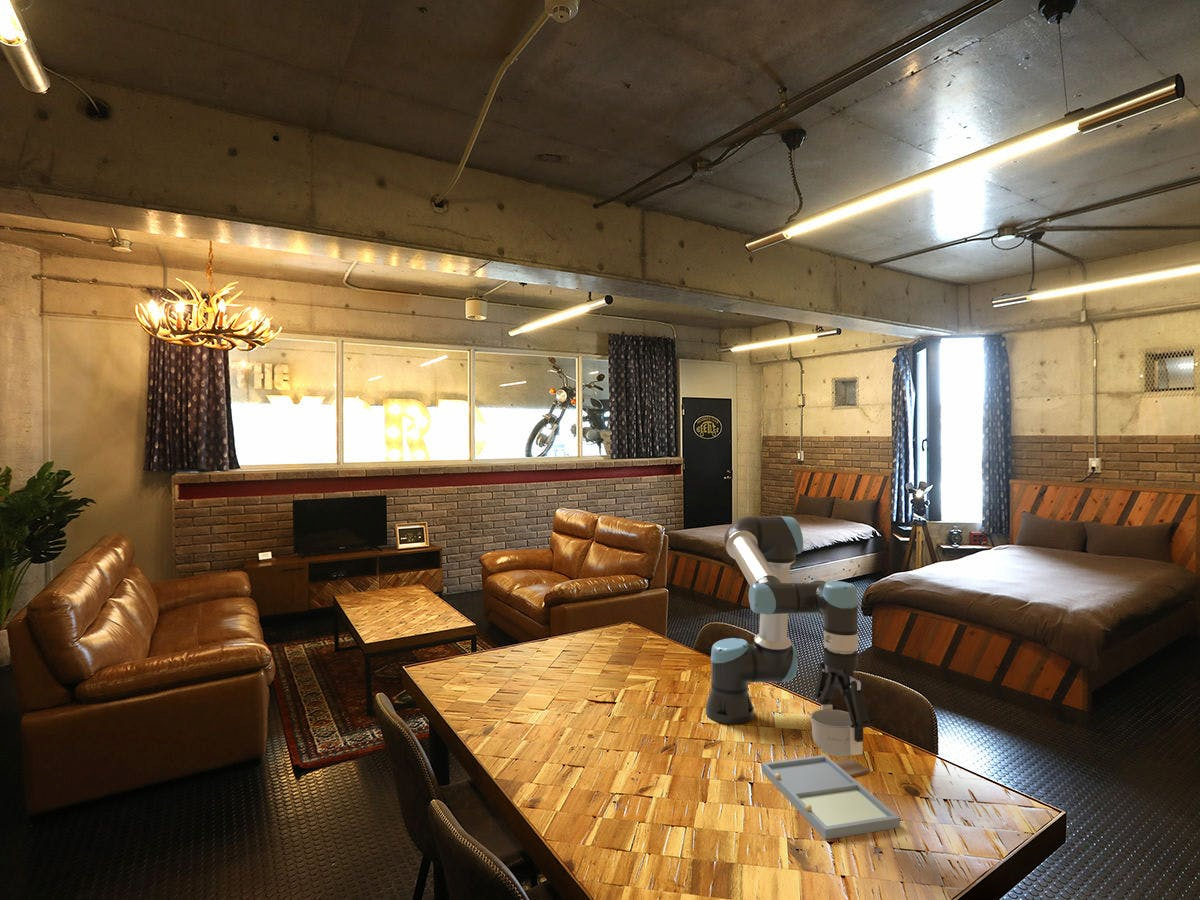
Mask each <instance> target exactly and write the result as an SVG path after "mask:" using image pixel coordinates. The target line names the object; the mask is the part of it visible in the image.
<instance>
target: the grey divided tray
mask: <svg viewBox="0 0 1200 900" xmlns="http://www.w3.org/2000/svg"><path fill="white" fill-rule="evenodd" d="M833 761H834V760H833V759H831V758H830V757H829V756H827V754H822V755H820V754H819V755H815V756H806V757H799V758H791V759H785V760H784V759H783V760H774V761H767V762H761V772H762V773H763V775H764V776H765V777H767V779H768V780H769V781H770V782H772V783H771V784H773V785H774V786H775V788H777V789H778V791H780V793H781V794H782V795H783V796H784V798H786V799H787V800H788V801H789V802H790V803H791V804H792V806H793V807H794V808H795V809H796V810H797V811H798V812H799V814H801V815H802V817H803V818H804V819H805V820H806V821H808V823H809V824H810V825H811V826H812V827H813V828H814V830H816V832H817V833H818V834H819V835H820V836H821V837H822V838H823V839H824V840H831V839H837V838H844V837H851V836H855V835H862V834H867V833H874V832H881V831H887V830H892V829H893V830H894V829H898V828H901V817H900V816H899V815H897V814H896V813H895V812H894V811H893V810H892V809H890V808H889V807H888V806H887V805H885V803H883V802H882V801H880V799H878V798H877V796H875V795H874V794H872V792H870V791H869V790H868V789H867V788H865V786H863V785H862V784H861V783H860V782H858V780H856V779H855V778H854V777H851V776H850V775H849V774H848V773H846V772H845V771H844V770H843V769H842V768H841V767H839V766H838V765H837V764H836V763H835V762H833Z"/></svg>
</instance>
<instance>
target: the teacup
mask: <svg viewBox="0 0 1200 900" xmlns="http://www.w3.org/2000/svg"><path fill="white" fill-rule="evenodd" d="M810 719H811V730H812V731H811V732H812V734H811V735H812V739H813V742H814V744H815V745H816V746H817V747H818V748H819V749H820V750H821V751H822V752H824V753H825V755H830V756H832V757H841V758H843V757H848V756H850V755H851V754H850V725H852V721H851V718H850V715H849V712H848V711H844V710H840V709H833V708H832V709H824V710H821V709H818V710H815V711H813V712H812V713H811V714H810ZM856 721H857V720H856Z"/></svg>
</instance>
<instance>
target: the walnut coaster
mask: <svg viewBox="0 0 1200 900" xmlns="http://www.w3.org/2000/svg"><path fill="white" fill-rule="evenodd" d="M832 761H833V762H835V763H836V764H837V765H838V766H839V767H841V768H842V769H843V770H844V771H845V772H846V773H848V774H849V775H850V776H851V777H852V778H854V777H857V776H860V775H865V774H867V773H870V769H869V768H867V767H866V766H864V765H863V764H860V763H859V762H858V761H856V760H854V759H853V758H851V757H847V758H846V757H844V758H841V759H838V760H832Z"/></svg>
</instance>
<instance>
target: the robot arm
mask: <svg viewBox="0 0 1200 900" xmlns="http://www.w3.org/2000/svg"><path fill="white" fill-rule="evenodd" d="M723 544H724V548H725V550H726V552H727V554H728V555H729V556H730V558H732V559H733V560H735V562H736V563H737V565H738V567H739V569H740V570H741V572H742V574H743V576H744V577H745V579H746V581H747V583H748V585H749V589H748V603H749V607H750V610H751V611H752V612H753V613H754V614H757V615H758V614H759V630H758V631H759V633H757V634H756V635H754V637H753V644H752V643H750V644H749V643H748V641H747V640H746V639H743V638H737V637H730V638H724V639H720V640H718V641H716V642H714V643H713V644H712V646H711V652H710V653H711V655H710V667H711V669H710V675H711V676H710V679H711V680H710V683H711V685H710V687H711V688H710V692H709V694H708V697H707V700H706V704H705V715H706V716H707V717H708V718H709V717H710V720H713V721H715V722H718V723H721V724H726V725H727V724H728V725H741V724H747V723H749V722H751V721H752V720H753V719H754V717H755V716H754V715H755V713H754V712H755V711H754V706H753V703H752V700H751V696H750V693H749V684H750V683H776V684H778V683H782V682H783V683H784V682H785V683H786V682H790V681H792V680H793V679H794V677H795V676H796V674H797V671H798V664H799V659H798V652H797V648H796V647H795V645H794V644H793V643H792V640H791V639H790V638H789V637H788V618H789V614H794V615H795V614H800V615H801V614H802V615H803V614H820V615H821V616H823V647H824V648H823V661H822V662H819V673H818V676H817V677H818V678H817V681H816V686H815V691H814V698H815V699H818V702H819V704H820V705H819V706H820V709H819V710H824V709H833V704H831V703H833V700H832V699H833V697H834V696H835V694H836V691H837V690H838V691H839V692H840V696H842V697H843V699H844V702H845V705H846V709H847V712H849V715H850V718H851V721H852V725H850V755H851V756H858V755H863V753H864V752H863V750H864V749H863V742H864V728H870V727H871V721H870V717H869V716H870V715H869V712H868V706H867V702H866V695H865V691H864V689H865V688H864V686H865V685H864V684H865V683H864V681H863V680H862V679H856V676H855V674H854V671H855V670H856V669H858V666H859V652H858V649H859V631H858V627H859V626H858V624H859V623H858V619H859V617H858V616H859V615H858V612H859V611H858V610H859V598H858V588H857V586H856V585H854V584H853V583H850V582H846V581H841V580H840V581H837V580H836V581H835V580H833V581H832V580H831V581H827V582H826V581H825V580H820V579H812V580H809V581H807V582H790V577H791V576H790V575H791V573H790V572H791V565H792V564H793V563H795V562H796V555H799V554H802V552H803V549H804V537H803V532H802V529H801V527H800V524H799V522H798V521H797V520H796V518H794V517H792V516H785V515H784V516H783V515H767V516H765V515H764V516H763V515H762V516H752V515H751V516H748V515H747V516H743V517H740V518H737V519H736V520H735V521H733V522H732V523H731V524H730V525H729V526H728V527H727V529H726V531H725V534H724V537H723ZM856 720H857V721H856Z"/></svg>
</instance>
